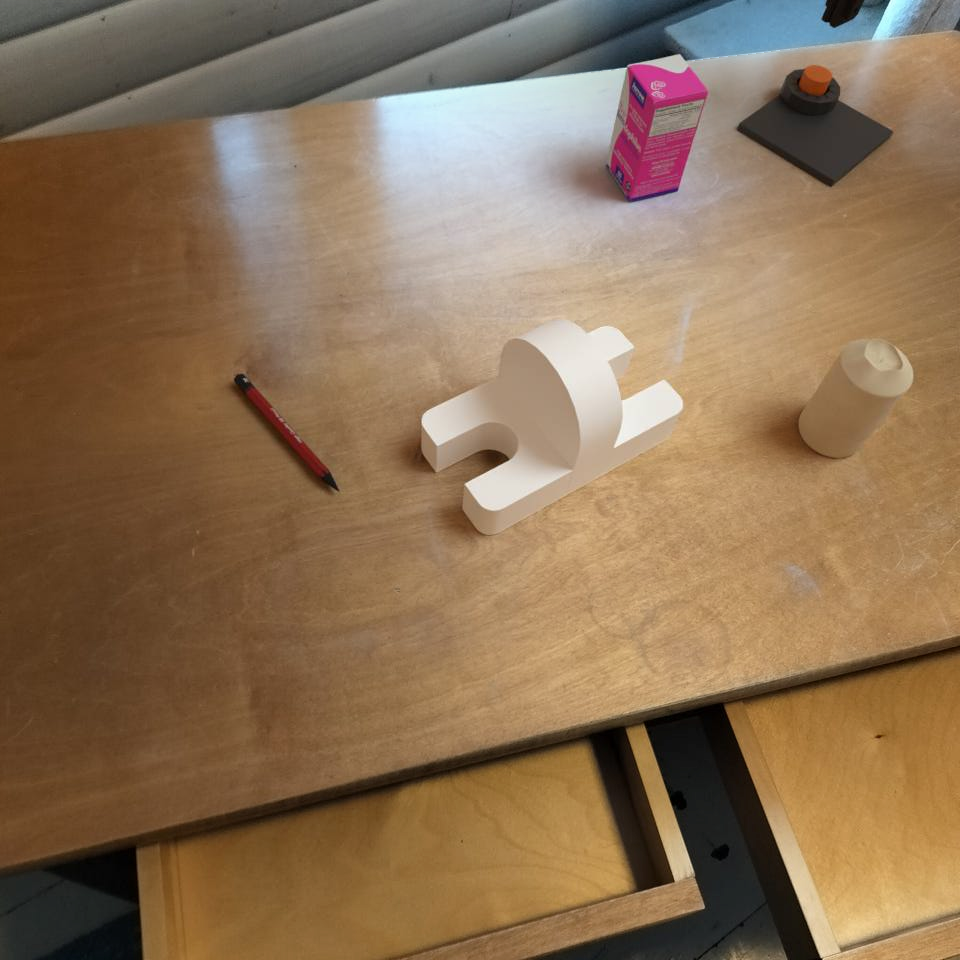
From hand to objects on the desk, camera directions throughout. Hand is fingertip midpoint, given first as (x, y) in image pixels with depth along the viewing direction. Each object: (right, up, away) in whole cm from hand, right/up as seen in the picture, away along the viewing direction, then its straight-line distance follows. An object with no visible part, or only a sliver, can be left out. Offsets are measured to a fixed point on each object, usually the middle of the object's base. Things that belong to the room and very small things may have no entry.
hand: (836, 20), depth 86 cm
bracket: (-31, -43, -17) cm, 56 cm away
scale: (0, -9, +6) cm, 11 cm away
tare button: (0, -4, +6) cm, 7 cm away
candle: (-7, -43, -15) cm, 46 cm away
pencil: (-51, -43, -19) cm, 70 cm away
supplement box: (-20, -16, 0) cm, 26 cm away
